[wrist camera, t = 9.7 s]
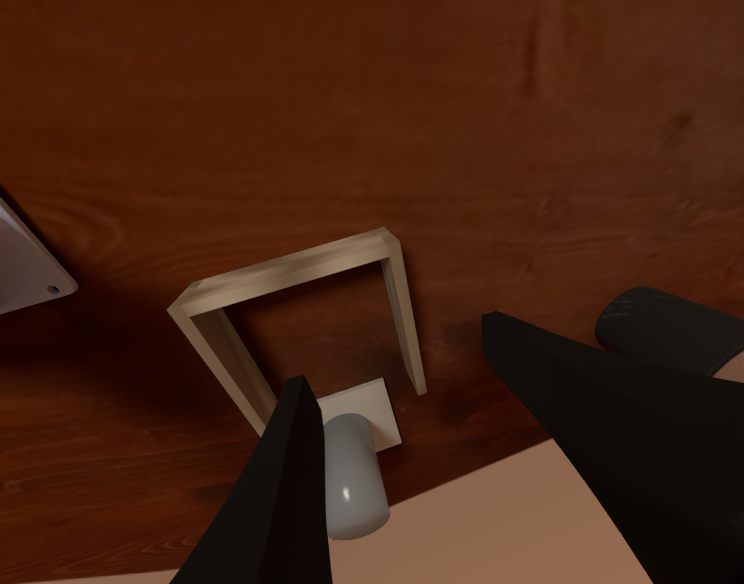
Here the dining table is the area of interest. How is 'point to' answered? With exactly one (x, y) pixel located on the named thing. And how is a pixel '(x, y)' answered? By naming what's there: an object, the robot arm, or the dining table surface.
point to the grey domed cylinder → (352, 479)
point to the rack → (206, 297)
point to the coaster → (365, 410)
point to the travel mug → (674, 333)
